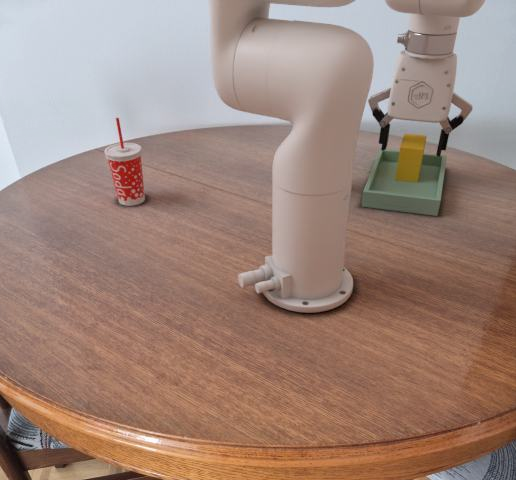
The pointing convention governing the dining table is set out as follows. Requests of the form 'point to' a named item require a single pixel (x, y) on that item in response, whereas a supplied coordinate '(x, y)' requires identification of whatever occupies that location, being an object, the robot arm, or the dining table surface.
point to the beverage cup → (126, 170)
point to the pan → (405, 185)
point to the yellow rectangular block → (410, 157)
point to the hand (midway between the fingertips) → (411, 150)
